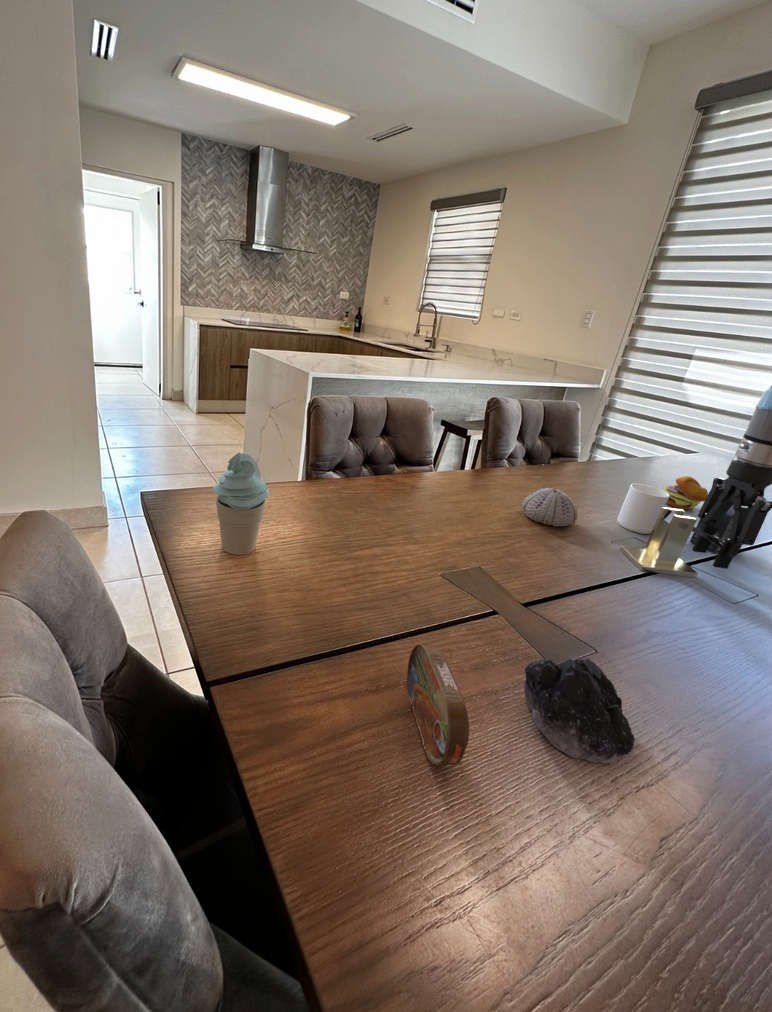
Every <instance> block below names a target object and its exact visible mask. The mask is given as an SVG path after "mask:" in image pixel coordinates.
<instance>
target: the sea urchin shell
mask: <svg viewBox="0 0 772 1012" xmlns="http://www.w3.org/2000/svg"><path fill="white" fill-rule="evenodd" d="M521 509H522V512H523V513H524V515H526V516H527V517H528V518H529V519H530V520H532V521H535V522H537V523H541V524H543V525H547V526H552V527H567V526H568V527H569V526H571V525H573V524H574V523H576V521H577V520H578V517H579V516H578V509H577V506H576V505H575V502H574V501H573V500H572V498H570V496H569V495H568V494H567V493H565V492H563V491H562V490H560V489H556V488H551V487H545V488H540V489H537V490H536V491H534V492H532V493H530V494H529V495H527V496H526V497H525V498H523V501H522V504H521Z"/></svg>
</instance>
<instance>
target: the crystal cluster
mask: <svg viewBox="0 0 772 1012" xmlns="http://www.w3.org/2000/svg"><path fill="white" fill-rule="evenodd" d="M524 673H525V679H524V682H523V693H524V696H525V699H524V700H525V705H526V707H528V709H529V708H530V709H529V710H531V711H530V713H531V715H532V716H531V719H532V720H533V722H534V726H535V727H536V728H537V729H538V730H539V731H540V732H541V733H542V735H543V736H544V737H545V738H547V740H548V742H549V743H550V744H551V745H552V746H553V747H554V748H555V749H557V750H559V751H560V752H562V753H564V754H566V755H567V756H569V757H570V758H572V759H581V760H586V761H589V762H591V763H594V764H596V763H601V764H610V763H613V764H615V763H616V762H617V761H620V760H621V759H622V758H623V757H624V756H625V755H628V754H629V753H631V752H632V750H633V749H634V747H635V744H634V743H635V735H634V734H633V732H632V728H631V727H630V722H629V720H628V719H627V717H626V716H625V715H624V713H623V701H622V697H620V696H619V695H618V691H617V689H616V688H615V685H614V684H613V682H612V681H611V680H610V679H609V678H607V675H606V674H605V673H604V671H603V670H602V669H601V667H600V666H598V665H597V664H596V663H595V662H594V661H592V660H590V659H589V658H581V659H577V658H573V657H572V658H569V659H566V660H564V661H562V662H560V663H558V662H555V661H553V660H552V659H550V658H541V659H539V660H535V661H533V662H532V661H531V662H530V663H529V664H528V665H526V666H525V667H524ZM616 760H617V761H616Z"/></svg>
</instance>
